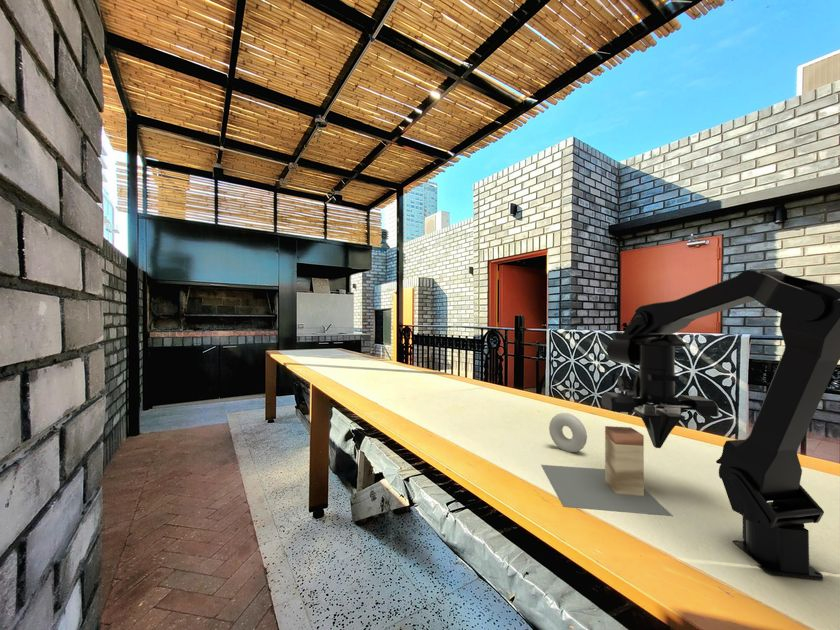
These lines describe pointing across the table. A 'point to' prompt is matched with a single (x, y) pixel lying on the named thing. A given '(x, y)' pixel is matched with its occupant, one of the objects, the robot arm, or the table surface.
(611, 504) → the rubber mat
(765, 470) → the robot arm
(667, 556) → the table surface
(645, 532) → the table surface
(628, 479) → the pine block
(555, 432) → the donut
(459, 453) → the table surface
